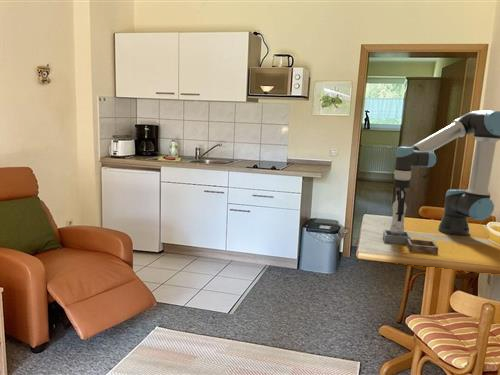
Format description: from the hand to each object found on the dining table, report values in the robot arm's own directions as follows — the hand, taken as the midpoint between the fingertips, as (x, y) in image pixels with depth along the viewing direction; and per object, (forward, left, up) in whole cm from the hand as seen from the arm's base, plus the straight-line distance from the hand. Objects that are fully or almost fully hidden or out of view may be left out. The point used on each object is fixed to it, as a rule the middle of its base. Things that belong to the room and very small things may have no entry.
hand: (397, 225), depth 218 cm
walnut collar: (-10, +12, -7) cm, 17 cm away
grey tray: (0, 0, -7) cm, 7 cm away
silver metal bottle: (0, 0, -5) cm, 5 cm away
